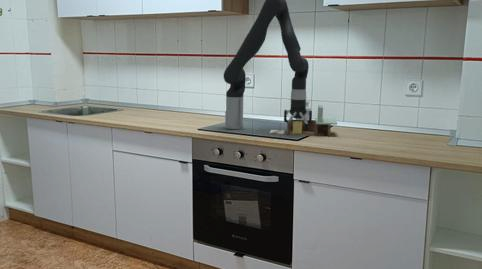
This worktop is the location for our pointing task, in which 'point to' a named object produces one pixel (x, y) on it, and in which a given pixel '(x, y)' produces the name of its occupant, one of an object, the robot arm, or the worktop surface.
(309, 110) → the pill bottle
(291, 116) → the robot arm
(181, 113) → the worktop surface
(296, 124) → the block
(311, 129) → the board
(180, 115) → the worktop surface
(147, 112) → the worktop surface
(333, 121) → the pale grey l-shaped piece
